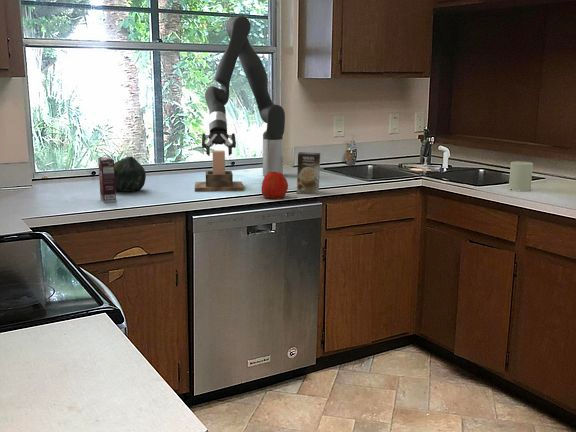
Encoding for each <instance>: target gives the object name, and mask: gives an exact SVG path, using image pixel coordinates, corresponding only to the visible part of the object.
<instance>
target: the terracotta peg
mask: <svg viewBox="0 0 576 432" xmlns="http://www.w3.org/2000/svg"><path fill="white" fill-rule="evenodd" d="M225 151H226V150H212V171H213V174H225V171H226V152H225Z"/></svg>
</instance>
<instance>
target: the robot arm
mask: <svg viewBox="0 0 576 432" xmlns="http://www.w3.org/2000/svg"><path fill="white" fill-rule="evenodd" d="M251 29H252V25H251V21H250V20H249V18H247V17H246V16H243V15H238V16H237V15H236V16H232V17H230V18H228V19H227V21H226V23H225V31H226V33H227V35H228V37H229V42H228V45H227V47H226V49H225V51H224V53H223V54H222V56H221V58H220V60H219V63H218V65H217V69H216V71H215V74H214V81H215V82H216V83H218V84H220V86H221V88H219V87H217V86H213V85H210V86H208V87H207V88H206V89H205V92H204V100H205V102H206V105H207V108H208V110H209V119H208V126H209V127H208V128H209V133H208V134H205V133H202V135H201V148H202V149H206V150H205V151H206V152H205V153H206V156H208V157H210V156H211V152H210V151H211V150H210V149H211V148H212V147H213V146H214V145H215V146H216V145H217V146H218V145H224V146H225V147H227V149H228V150H227V151H228V153H227V154H228V156H231V155H232V154H233V148H234V149H235V148H237V146H236V145H237V141H236V134H235V133H231V134H228V126H227V125H228V122H227V121H228V120H227V114H226V113H227V112H226V105H227V103H228V102H229V100H230V84H231V79H232V76H233V73H234V69H235V67H236V65H237V64H236V63H237V61H238V60H239V62H240V64H241V67H242V69H243V73H244V74H245V77H246V80H247V82H248V84H249V87H250V89H251V92H252V94H253V96H254V99H255V103H256V107H257V109H258V112H259V116H260V119H261V120H262V122H264V123H265V124H266V130H265V131H264V132H263V133H262V176H264V177H265V176H266V174H267V173H268V172H274V171H275V172H280V173H282V174H283V175H284V155H283V136H284V134H285V126H286V125H285V124H286V113H285V109H284V108H283V107H282V106H281V105H279V104H274V102H273V100H272V98H271V96H270V93H269V88H268V87H269V85H268V75H267V72H266V69H265V66H264V63H263V61H262V60H261V58H260V57H259V55H258V54H257V52H256V51H255V50H254V48H253V47H252V44H251V43H250V41H249V39H248V38H249V37H248V36H249V34H250V33H251ZM208 139H209V140H208ZM229 139H230V140H231V141H232V143H231V142H230V140H229ZM207 140H208V142H207V143H206V141H207Z"/></svg>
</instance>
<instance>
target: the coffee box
mask: <svg viewBox="0 0 576 432" xmlns="http://www.w3.org/2000/svg"><path fill="white" fill-rule="evenodd" d="M320 173H321V153H320V152H303V151H302V152H300V151H299V152H298V153H297V173H296V175H297V178H296V194H309V195H310V194H312V195H319V193H320V175H321V174H320Z"/></svg>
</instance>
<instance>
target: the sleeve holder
mask: <svg viewBox="0 0 576 432" xmlns="http://www.w3.org/2000/svg"><path fill="white" fill-rule="evenodd" d="M233 176H234V175H233V171H232V170H225V174H213V170H205V181H195V183H194V192H244V191H245V187H244V184H243V181H242V180H241V181H240V180H239V181H238V180H237V181H233V178H234V177H233Z"/></svg>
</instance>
